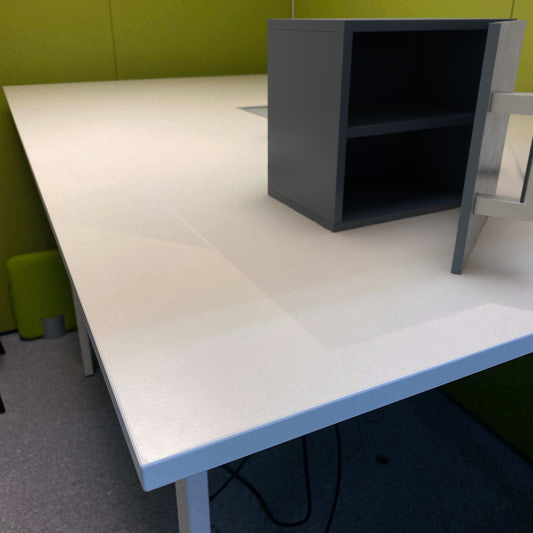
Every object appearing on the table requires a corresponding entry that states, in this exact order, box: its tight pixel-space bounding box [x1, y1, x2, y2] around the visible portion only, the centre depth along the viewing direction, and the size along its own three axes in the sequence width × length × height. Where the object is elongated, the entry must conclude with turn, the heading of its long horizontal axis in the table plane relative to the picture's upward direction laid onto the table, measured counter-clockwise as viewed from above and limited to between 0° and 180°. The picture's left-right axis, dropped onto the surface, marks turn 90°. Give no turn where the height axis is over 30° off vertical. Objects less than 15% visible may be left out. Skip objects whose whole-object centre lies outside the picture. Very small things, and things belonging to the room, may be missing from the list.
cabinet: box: [267, 17, 518, 234], centre depth 76 cm, size 18×26×24 cm
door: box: [450, 19, 533, 275], centre depth 62 cm, size 7×26×24 cm, turn 152°
